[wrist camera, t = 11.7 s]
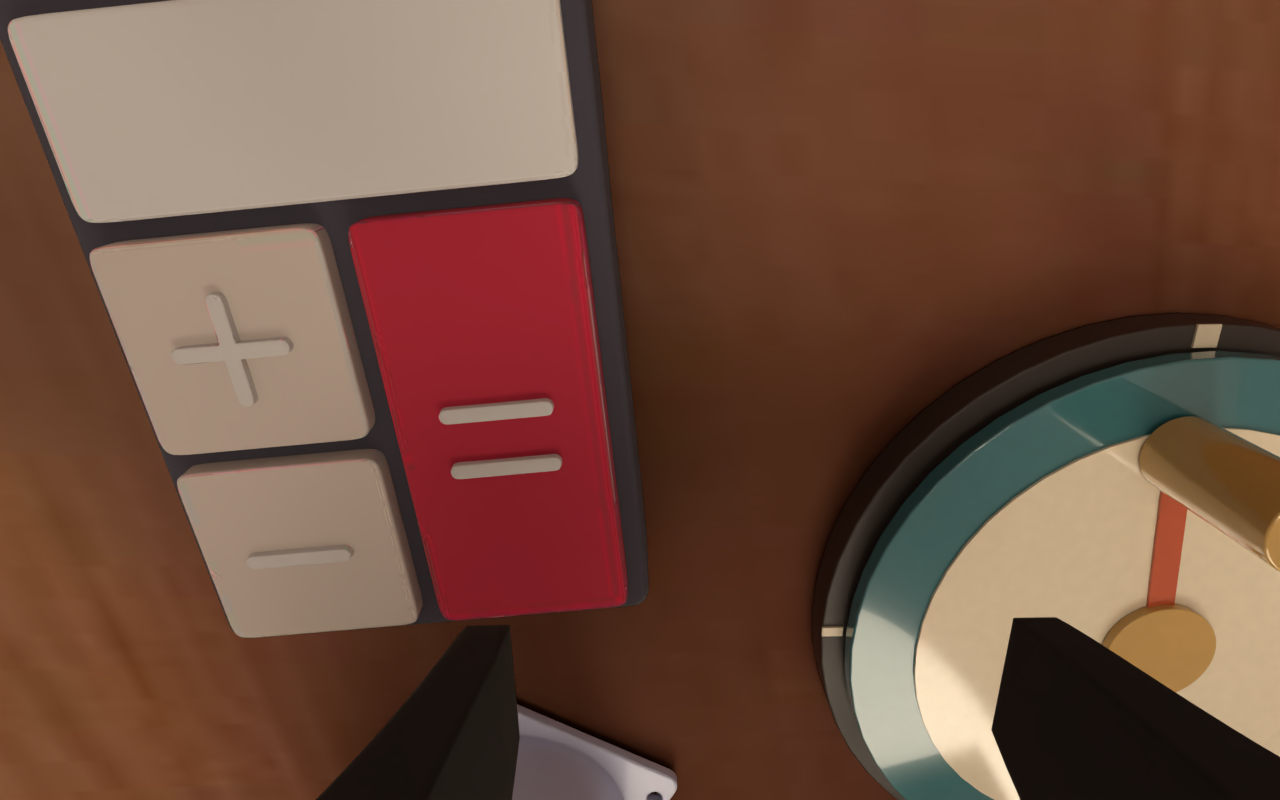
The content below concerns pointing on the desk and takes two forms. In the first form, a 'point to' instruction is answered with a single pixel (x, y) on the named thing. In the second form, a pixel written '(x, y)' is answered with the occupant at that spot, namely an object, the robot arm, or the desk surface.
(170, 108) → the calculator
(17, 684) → the desk surface
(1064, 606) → the turntable with peg
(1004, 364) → the stand
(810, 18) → the desk surface
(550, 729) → the robot arm
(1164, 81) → the desk surface
